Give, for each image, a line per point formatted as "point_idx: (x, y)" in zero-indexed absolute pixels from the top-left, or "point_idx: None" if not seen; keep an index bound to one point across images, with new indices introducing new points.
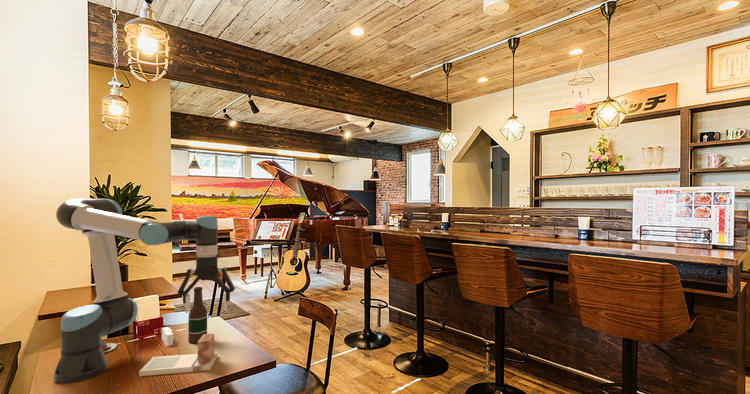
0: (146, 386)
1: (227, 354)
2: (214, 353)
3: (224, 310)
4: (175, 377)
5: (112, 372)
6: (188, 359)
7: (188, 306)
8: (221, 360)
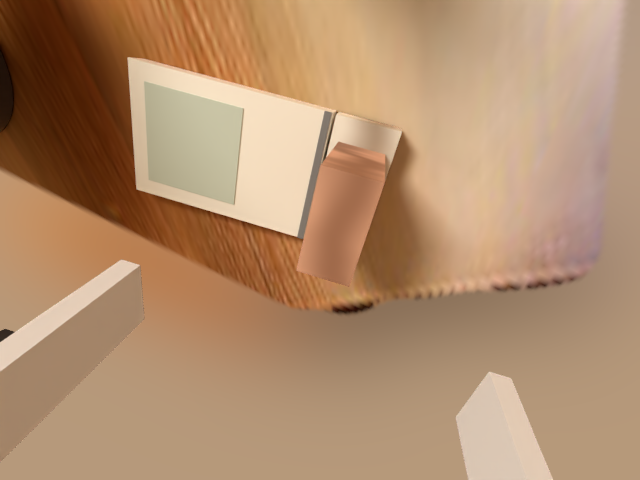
0: (194, 257)
1: (451, 111)
2: (386, 152)
3: (463, 422)
4: (259, 240)
5: (45, 101)
6: (280, 159)
7: (99, 344)
8: (412, 172)
